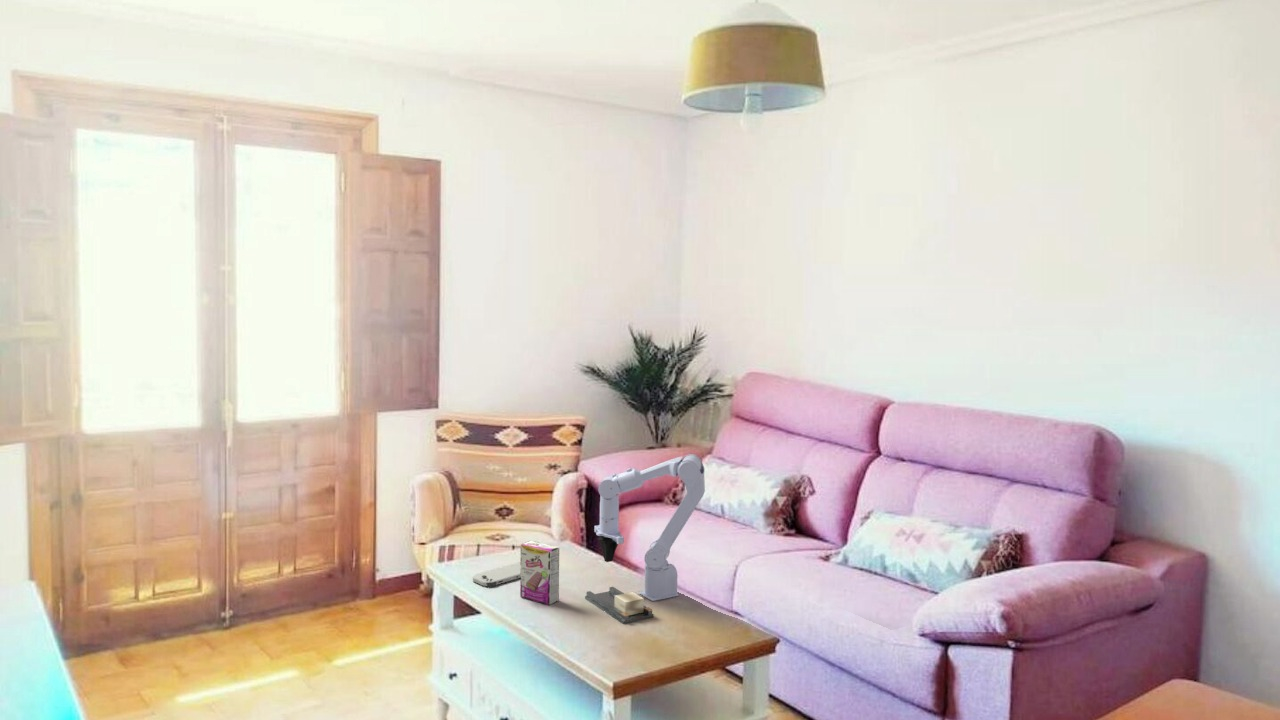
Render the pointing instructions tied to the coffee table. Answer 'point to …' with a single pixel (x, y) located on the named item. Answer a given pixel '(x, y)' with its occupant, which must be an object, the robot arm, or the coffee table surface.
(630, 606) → the block
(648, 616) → the chute
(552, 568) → the candy bar box
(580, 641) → the coffee table surface
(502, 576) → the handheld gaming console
